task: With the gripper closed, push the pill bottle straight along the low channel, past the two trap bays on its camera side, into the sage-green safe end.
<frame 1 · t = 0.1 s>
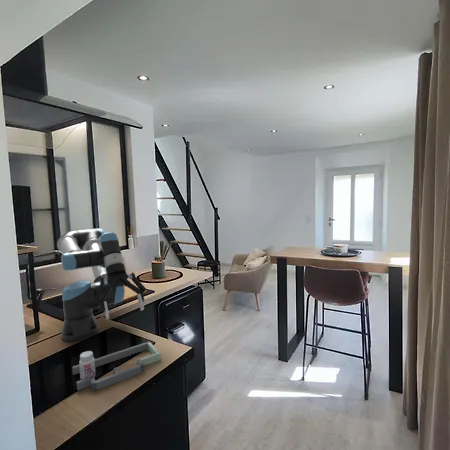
hand: (125, 314, 112), 15 cm above the worktop, tool tilted 35°, fingers open, 13 cm apart
pill bottle: (88, 377, 98), on the worktop
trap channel: (115, 367, 103), on the worktop
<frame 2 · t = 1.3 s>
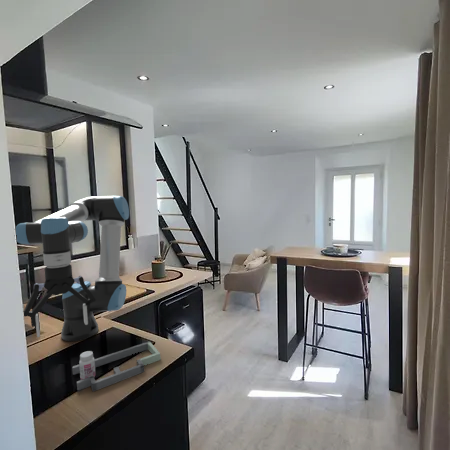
hand: (63, 329, 92), 19 cm above the worktop, tool pointing down, fingers open, 13 cm apart
nothing on the worktop moved.
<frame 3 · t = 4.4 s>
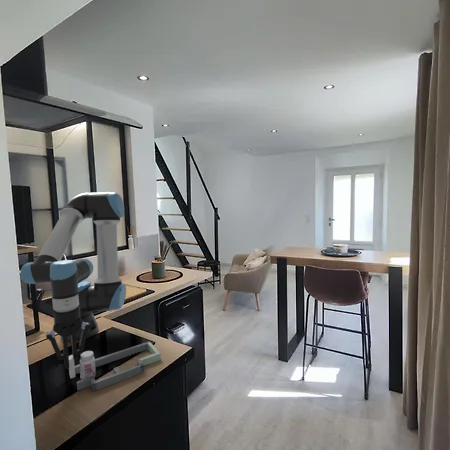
hand: (72, 375, 95), 2 cm above the worktop, tool pointing down, fingers closed
pill bottle: (88, 377, 98), on the worktop, touching gripper
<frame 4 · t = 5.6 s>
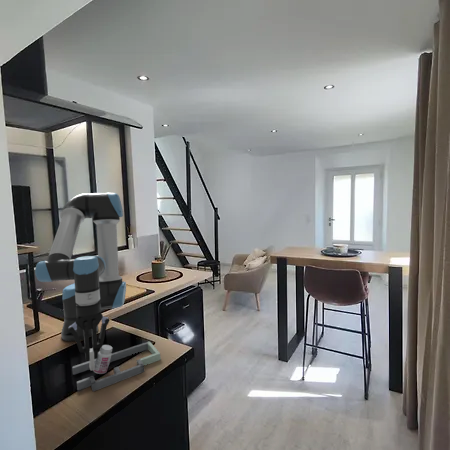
hand: (92, 368, 98), 3 cm above the worktop, tool pointing down, fingers closed
pill bottle: (99, 371, 100), point 1 cm above the worktop, touching gripper
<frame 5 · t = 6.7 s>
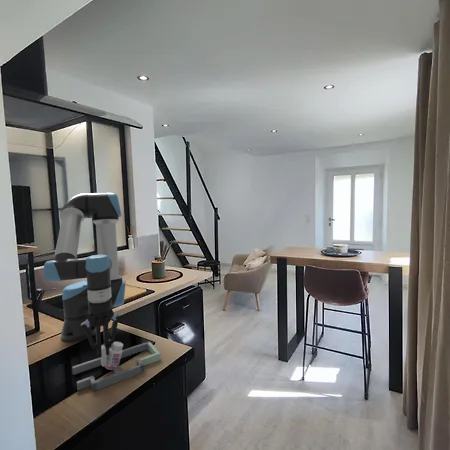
hand: (103, 364, 100), 3 cm above the worktop, tool pointing down, fingers closed
pill bottle: (111, 367, 102), point 1 cm above the worktop, touching gripper
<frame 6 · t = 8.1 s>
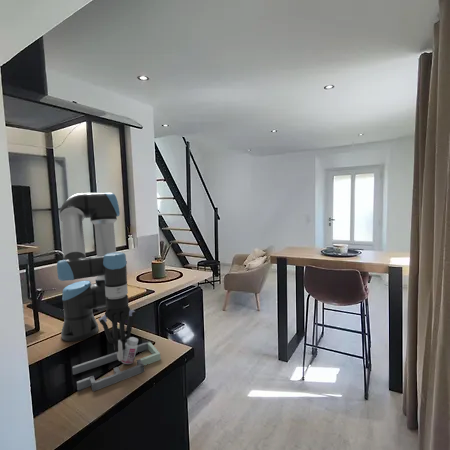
hand: (120, 358, 103), 3 cm above the worktop, tool pointing down, fingers closed
pill bottle: (126, 361, 105), point 1 cm above the worktop, touching gripper
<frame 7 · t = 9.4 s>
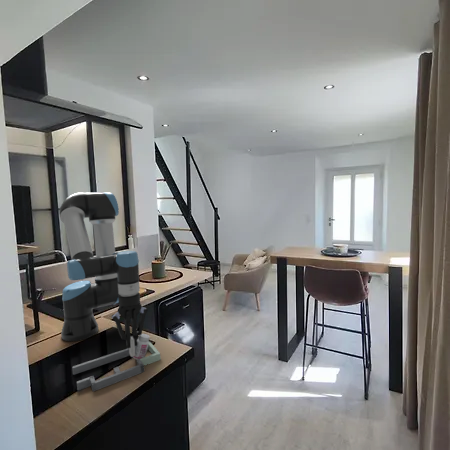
hand: (132, 354, 106), 3 cm above the worktop, tool pointing down, fingers closed
pill bottle: (138, 357, 108), point 1 cm above the worktop, touching gripper
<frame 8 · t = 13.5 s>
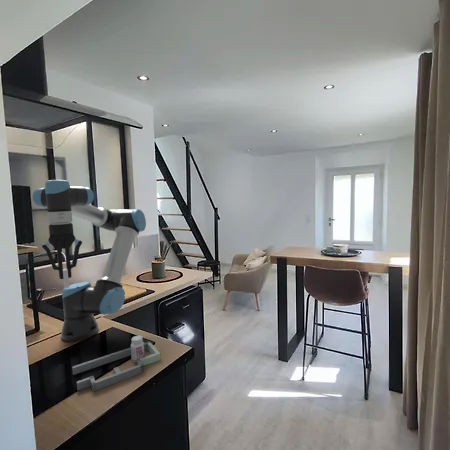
hand: (66, 286, 104), 29 cm above the worktop, tool pointing down, fingers closed
pill bottle: (138, 359, 108), on the worktop
at the end: pill bottle inside the target area (2.2 cm from its centre), on the worktop; pill bottle tilted 1° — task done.
